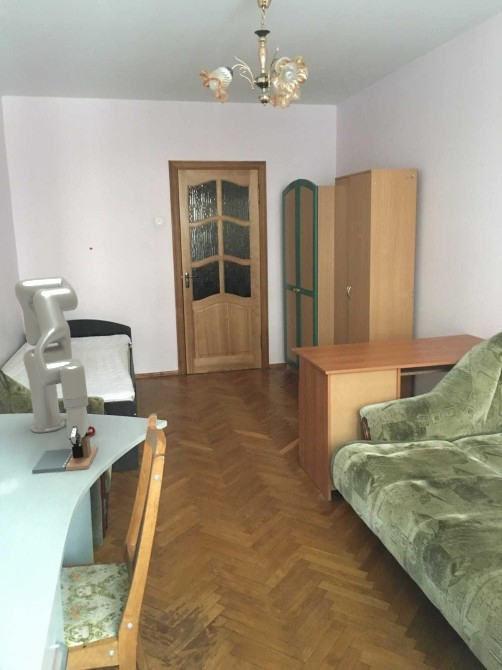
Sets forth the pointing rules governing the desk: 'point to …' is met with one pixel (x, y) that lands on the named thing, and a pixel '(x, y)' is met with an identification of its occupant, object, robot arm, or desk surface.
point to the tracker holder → (90, 429)
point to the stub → (86, 459)
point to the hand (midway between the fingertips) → (81, 451)
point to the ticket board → (53, 461)
